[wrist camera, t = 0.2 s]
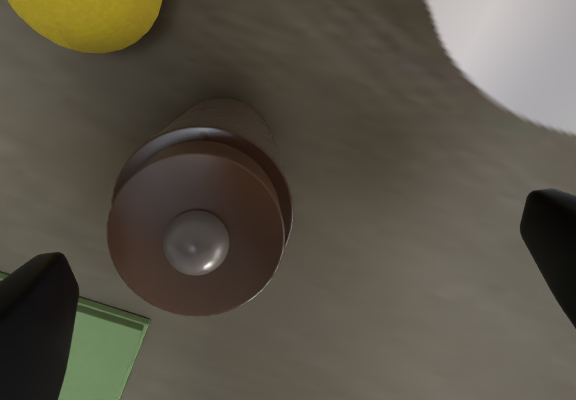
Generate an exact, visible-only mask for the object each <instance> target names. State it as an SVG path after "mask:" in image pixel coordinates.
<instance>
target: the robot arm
mask: <svg viewBox="0 0 576 400" xmlns="http://www.w3.org/2000/svg"><path fill="white" fill-rule="evenodd" d="M520 233H521V236H522V238H523V240H524V242H525V244H526V246H527V248H528V249H529V251H530V253H531V255H532V257H533V259H534V260H535V262H536V264H537V266H538V268H539V270H540V271H541V273H542V275H543V277H544V279H545V281H546V283H547V284H548V286H549V288H550V290H551V292H552V293H553V295H554V297H555V298H556V300H557V302H558V303H559V305H560V306H561V308H562V309H563V311H564V312H565V314H566V315H567V317H568V318H569V320H570V321H571V322H572V324H573V325H574V327H575V328H576V196H574V195H571V194H568V193H565V192H562V191H559V190H556V189H543V190H536V191H532V192H531V193H529V195H528V196H527V199H526V203H525V207H524V211H523V215H522V219H521V223H520ZM78 300H79V287H78V284H77V281H76V279H75V277H74V274H73V272H72V270H71V268H70V265H69V263H68V261H67V259H66V257H65V256H64V255H63V254H62V253H60V252H54V253H46V254H40V255H37V256H35V257H34V258H32V259H31V260H30V261H28V262H27V263H25V264H24V265H23V266H21V267H20V268H18V269H17V270H16V271H14V272H13V273H11V274H10V275H9V276H7V277H6V278H4V279H3V280H2V281H0V400H58V398H59V395H60V391H61V388H62V384H63V381H64V377H65V373H66V369H67V364H68V359H69V354H70V348H71V342H72V336H73V330H74V324H75V318H76V312H77V306H78Z"/></svg>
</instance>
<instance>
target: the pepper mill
mask: <svg viewBox="0 0 576 400" xmlns="http://www.w3.org/2000/svg"><path fill="white" fill-rule="evenodd" d="M292 223H293V203H292V196H291V192H290V189H289V185H288V182H287V180H286V177H285V174H284V171H283V168H282V165H281V162H280V160H279V157H278V154H277V151H276V148H275V145H274V142H273V140H272V137H271V134H270V131H269V129H268V126H267V125H266V123H265V121H264V120H263V118H262V117H261V116H260V115H259V114H258V113H257V112H256V111H255V110H254V109H253V108H251V107H250V106H248V105H247V104H245V103H243V102H240V101H238V100H234V99H230V98H212V99H208V100H204V101H202V102H200V103H198V104H196V105H194V106H193V107H191V108H190V109H189V110H187V111H186V112H185V113H183V114H182V115H181V116H180V117H178V118H177V119H176V120H174V121H173V122H172V123H170V124H169V125H168V126H167V127H165V128H164V129H163V130H161V131H160V132H159V133H157V134H156V135H155V136H154V137H152V138H151V139H150V140H148V141H147V142H146V143H145V144H143V145H142V146H141V147H140V148H138V149H137V150H136V151H135V152H134V153H133V155H132V156H131V157H130V158H129V159H128V160H127V162H126V163H125V165H124V166H123V168H122V170H121V172H120V174H119V176H118V178H117V180H116V183H115V186H114V190H113V195H112V203H111V209H110V212H109V217H108V222H107V242H108V248H109V252H110V256H111V259H112V261H113V263H114V266H115V268H116V270H117V271H118V273H119V275H120V276H121V278H122V279H123V280H124V282H125V283H126V284H127V286H128V287H130V288H131V289H132V290H133V291H134V292H135V293H136V294H137V295H138V296H140V297H141V298H142V299H143V300H145V301H147V302H148V303H150V304H152V305H153V306H155V307H158V308H160V309H162V310H165V311H168V312H171V313H175V314H180V315H185V316H209V315H216V314H220V313H224V312H228V311H230V310H233V309H235V308H238V307H240V306H241V305H243V304H245V303H247V302H248V301H250V300H251V299H252V298H254V297H255V296H256V295H257V294H258V293H260V292H261V291H262V290H263V289H264V288H265V286H266V285H267V284H268V283H269V282H270V280H271V279H272V277H273V276H274V274H275V272H276V270H277V268H278V266H279V264H280V261H281V258H282V254H283V251H284V249H285V247H286V245H287V242H288V240H289V237H290V233H291V230H292Z"/></svg>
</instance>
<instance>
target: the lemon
mask: <svg viewBox="0 0 576 400" xmlns="http://www.w3.org/2000/svg"><path fill="white" fill-rule="evenodd" d="M7 1H8V2H9V3H10V5H11V6H12V8H13V9H14V11H15V12H16V13H17V14H18V15H19V16H20V17H21V18H22V19H23V20H24V21H25V22H26V23H27V24H28V25H29V26H30V27H32V28H33V29H34V30H35V31H36V32H37V33H39V34H41V35H42V36H44V37H46V38H47V39H49V40H51V41H53V42H54V43H56V44H58V45H60V46H63V47H66V48H69V49H73V50H76V51H79V52H86V53H108V52H113V51H118V50H122V49H124V48H126V47H128V46H130V45H132V44H134V43H136V42H137V41H138V40H139V39H140V38H142V37H143V36H144V35H145V34H146V33H147V32H148V31H149V30H150V28H151V27H152V25H153V23H154V22H155V20H156V18H157V17H158V14H159V10H160V7H161V3H162V0H7Z"/></svg>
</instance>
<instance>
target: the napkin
mask: <svg viewBox="0 0 576 400" xmlns="http://www.w3.org/2000/svg"><path fill="white" fill-rule="evenodd" d="M7 276H9V275H7V274H4V273H0V281H2V280H3V279H4V278H6V277H7ZM149 323H150V319H147V318H144V317H141V316H137V315H134V314H131V313H128V312H125V311H121V310H118V309H115V308H112V307H109V306H106V305H102V304H99V303H96V302H93V301H90V300H86V299H83V298H80V297H79V300H78V306H77V312H76V318H75V324H74V330H73V336H72V342H71V348H70V354H69V359H68V364H67V369H66V373H65V377H64V381H63V384H62V388H61V391H60V395H59V398H58V400H119V399H120V397H121V394H122V392H123V389H124V387H125V384H126V382H127V379H128V377H129V374H130V371H131V369H132V366H133V364H134V361H135V359H136V356H137V354H138V351H139V349H140V346H141V344H142V341H143V338H144V336H145V333H146V331H147V328H148V326H149Z"/></svg>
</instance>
